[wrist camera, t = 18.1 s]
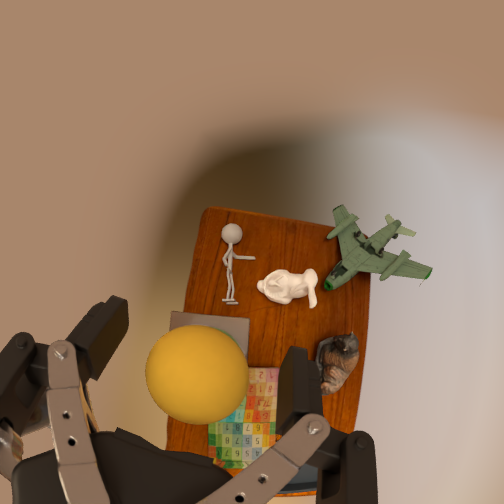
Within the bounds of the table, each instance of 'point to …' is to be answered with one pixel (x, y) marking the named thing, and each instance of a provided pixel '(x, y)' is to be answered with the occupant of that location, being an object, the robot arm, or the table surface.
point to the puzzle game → (247, 423)
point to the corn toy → (197, 374)
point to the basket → (302, 481)
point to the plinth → (216, 325)
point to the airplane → (370, 251)
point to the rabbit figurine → (289, 286)
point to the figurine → (231, 236)
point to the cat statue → (336, 361)
